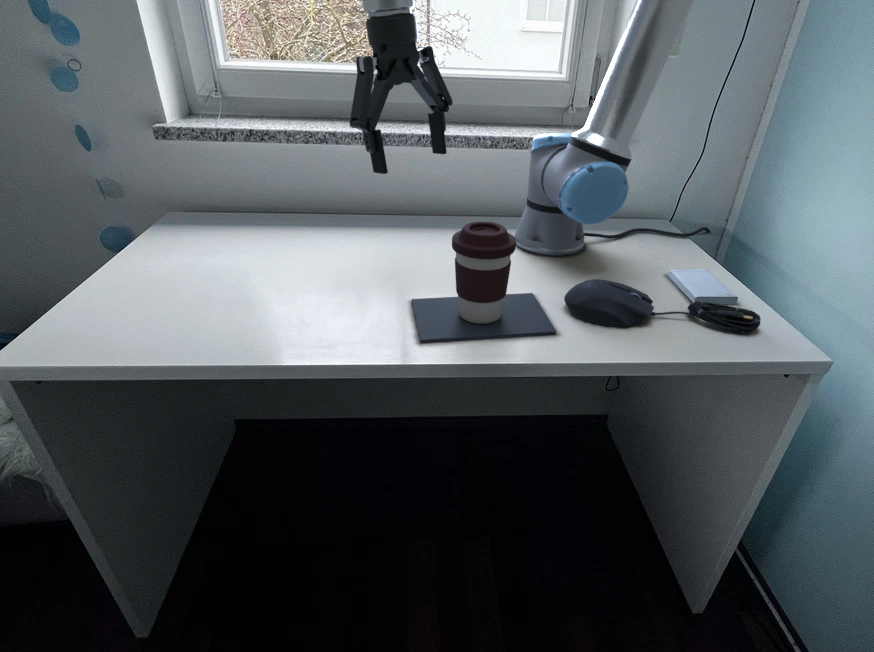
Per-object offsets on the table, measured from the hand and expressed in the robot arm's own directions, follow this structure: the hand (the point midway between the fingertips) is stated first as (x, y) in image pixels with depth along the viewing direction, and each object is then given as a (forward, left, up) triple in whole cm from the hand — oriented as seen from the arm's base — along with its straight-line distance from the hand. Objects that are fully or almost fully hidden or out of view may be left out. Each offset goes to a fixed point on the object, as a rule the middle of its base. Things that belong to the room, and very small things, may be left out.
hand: (411, 162), depth 92 cm
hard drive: (-54, +10, -22) cm, 59 cm away
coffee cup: (-10, +16, -21) cm, 28 cm away
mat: (-10, +16, -22) cm, 29 cm away
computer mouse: (-40, +20, -22) cm, 50 cm away
